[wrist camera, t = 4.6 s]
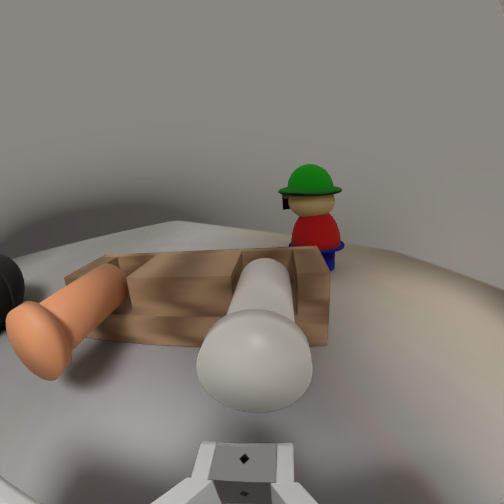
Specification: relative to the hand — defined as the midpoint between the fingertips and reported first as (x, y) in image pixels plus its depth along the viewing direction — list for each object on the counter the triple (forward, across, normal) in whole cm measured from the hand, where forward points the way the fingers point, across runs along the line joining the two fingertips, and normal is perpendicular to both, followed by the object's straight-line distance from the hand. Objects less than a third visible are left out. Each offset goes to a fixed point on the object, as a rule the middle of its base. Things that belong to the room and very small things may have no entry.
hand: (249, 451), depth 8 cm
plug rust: (+10, +14, +2) cm, 18 cm away
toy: (+35, -6, +6) cm, 36 cm away
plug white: (+10, 0, +3) cm, 10 cm away
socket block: (+19, +7, +5) cm, 21 cm away
